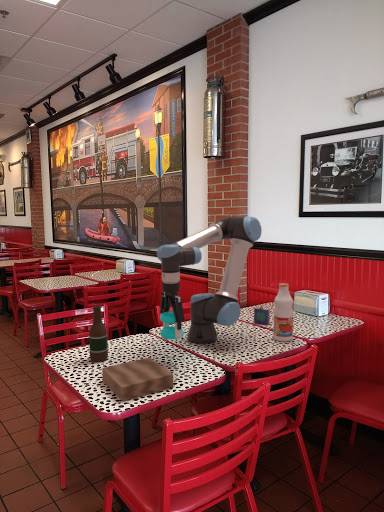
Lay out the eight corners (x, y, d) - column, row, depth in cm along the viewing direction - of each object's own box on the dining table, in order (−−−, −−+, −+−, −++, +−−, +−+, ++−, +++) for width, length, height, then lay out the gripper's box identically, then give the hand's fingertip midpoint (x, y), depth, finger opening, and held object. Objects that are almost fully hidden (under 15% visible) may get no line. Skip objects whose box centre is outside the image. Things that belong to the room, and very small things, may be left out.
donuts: (185, 310, 169) (181, 317, 160) (185, 333, 171) (182, 340, 161) (162, 310, 171) (157, 316, 161) (163, 332, 172) (158, 340, 162)
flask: (270, 324, 223) (270, 305, 222) (268, 325, 220) (268, 307, 219) (254, 322, 228) (254, 304, 226) (252, 323, 225) (253, 305, 224)
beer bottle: (88, 357, 174) (86, 304, 172) (106, 355, 177) (104, 303, 174) (90, 363, 167) (88, 308, 165) (109, 361, 170) (107, 306, 167)
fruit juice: (284, 334, 204) (285, 281, 201) (296, 340, 195) (297, 284, 192) (269, 337, 200) (270, 283, 196) (281, 343, 191) (282, 286, 188)
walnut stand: (149, 369, 161) (149, 357, 160) (173, 387, 144) (173, 374, 143) (102, 380, 150) (102, 367, 150) (122, 401, 134) (121, 387, 133)
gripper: (150, 279, 171) (152, 328, 174) (176, 287, 152) (177, 342, 155) (166, 277, 175) (167, 325, 178) (192, 284, 156) (193, 339, 159)
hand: (172, 333), depth 166 cm, fingers closed on donuts, 10 cm apart
